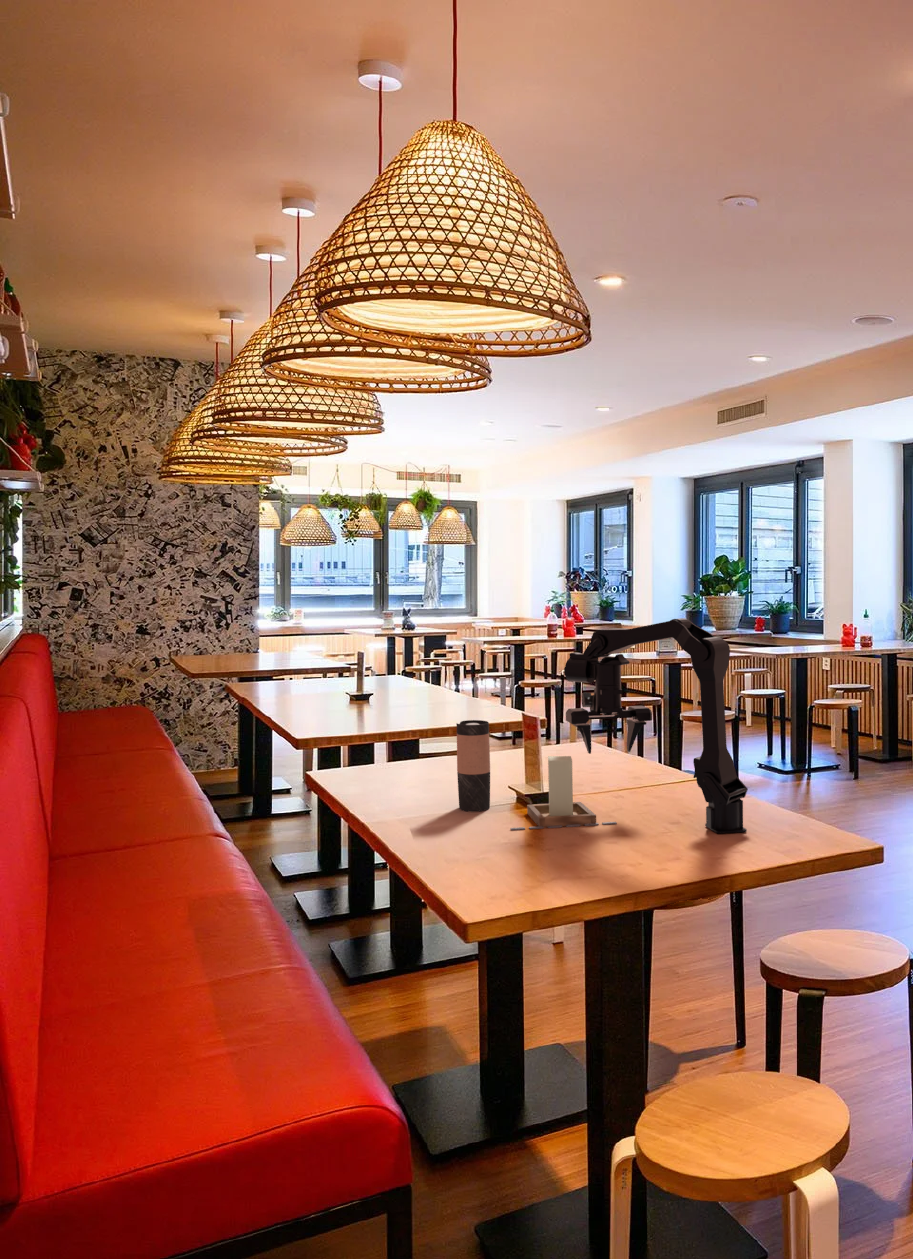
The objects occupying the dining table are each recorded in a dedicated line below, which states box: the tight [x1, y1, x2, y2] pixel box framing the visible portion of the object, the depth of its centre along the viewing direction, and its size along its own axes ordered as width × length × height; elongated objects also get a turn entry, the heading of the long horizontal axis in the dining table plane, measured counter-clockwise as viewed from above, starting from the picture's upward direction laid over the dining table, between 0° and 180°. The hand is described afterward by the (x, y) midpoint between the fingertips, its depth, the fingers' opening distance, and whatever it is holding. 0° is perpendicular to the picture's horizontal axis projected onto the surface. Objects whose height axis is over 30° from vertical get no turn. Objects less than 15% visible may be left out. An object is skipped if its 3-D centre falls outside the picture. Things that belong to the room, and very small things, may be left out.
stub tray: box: [526, 801, 597, 829], centre depth 207 cm, size 12×12×2 cm
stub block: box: [547, 755, 574, 816], centre depth 206 cm, size 5×5×13 cm
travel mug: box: [456, 719, 491, 812], centre depth 218 cm, size 8×8×20 cm
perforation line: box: [510, 821, 618, 831], centre depth 200 cm, size 23×1×1 cm, turn 98°
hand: (609, 752), depth 214 cm, fingers open, 9 cm apart
